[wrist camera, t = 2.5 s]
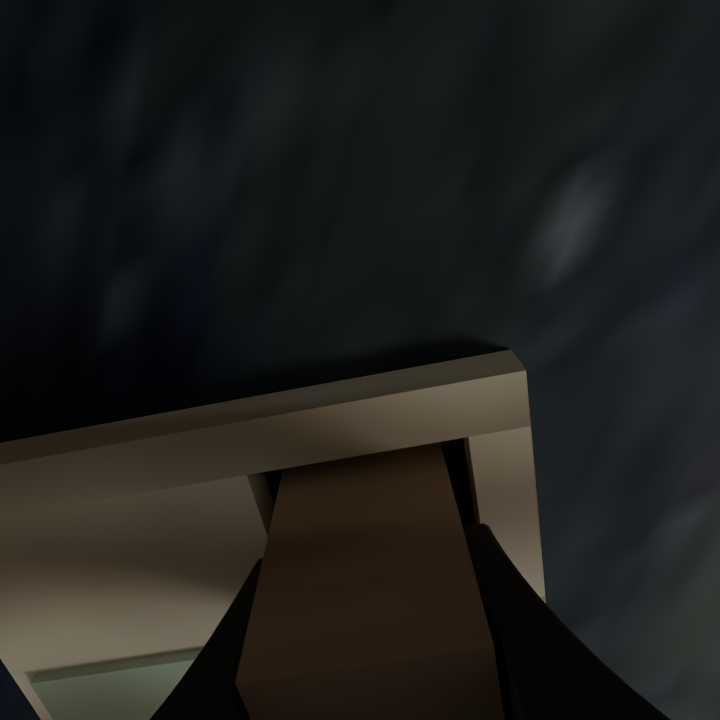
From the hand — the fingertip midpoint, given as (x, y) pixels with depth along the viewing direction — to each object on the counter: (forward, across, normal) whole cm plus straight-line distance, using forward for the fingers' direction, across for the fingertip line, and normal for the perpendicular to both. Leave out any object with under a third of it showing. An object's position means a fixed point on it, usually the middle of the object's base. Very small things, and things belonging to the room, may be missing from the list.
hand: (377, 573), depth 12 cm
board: (+2, +4, +3) cm, 5 cm away
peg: (+2, 0, 0) cm, 2 cm away
